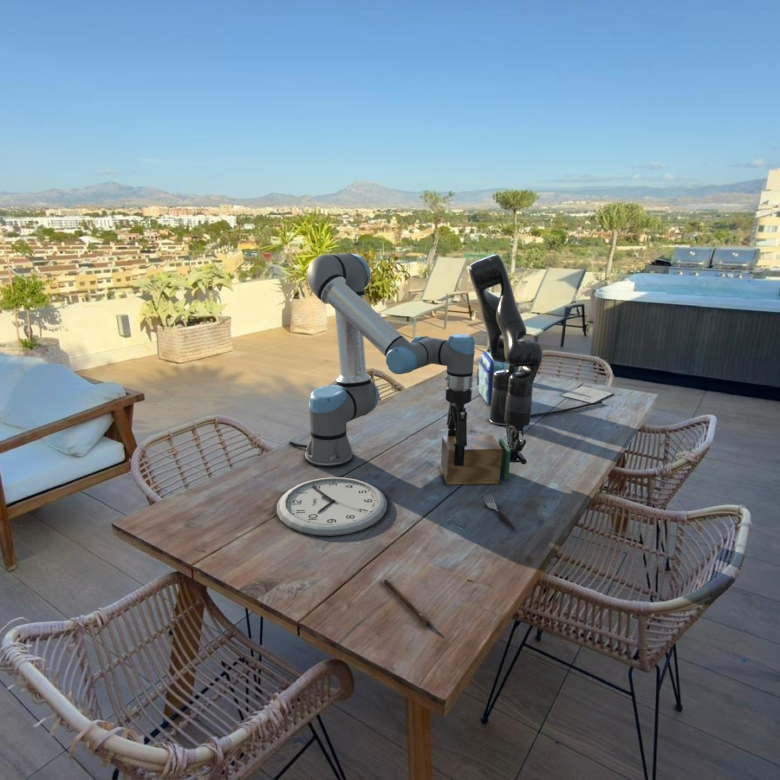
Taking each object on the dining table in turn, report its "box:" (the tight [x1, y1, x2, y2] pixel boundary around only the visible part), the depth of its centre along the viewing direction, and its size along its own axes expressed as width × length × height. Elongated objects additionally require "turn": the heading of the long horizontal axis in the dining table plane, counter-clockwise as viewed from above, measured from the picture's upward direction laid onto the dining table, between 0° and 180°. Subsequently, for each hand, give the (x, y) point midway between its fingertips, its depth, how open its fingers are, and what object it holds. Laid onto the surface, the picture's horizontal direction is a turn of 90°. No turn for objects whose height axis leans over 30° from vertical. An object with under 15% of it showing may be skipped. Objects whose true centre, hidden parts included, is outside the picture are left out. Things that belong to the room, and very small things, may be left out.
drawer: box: [497, 438, 528, 480], centre depth 160 cm, size 20×9×9 cm, turn 94°
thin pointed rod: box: [383, 578, 429, 627], centre depth 106 cm, size 15×1×1 cm, turn 34°
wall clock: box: [276, 476, 388, 537], centre depth 142 cm, size 30×2×30 cm
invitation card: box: [560, 385, 613, 404], centre depth 242 cm, size 21×1×15 cm
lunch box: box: [476, 351, 509, 406], centre depth 230 cm, size 26×11×21 cm, turn 179°
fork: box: [483, 493, 516, 530], centre depth 139 cm, size 3×16×2 cm, turn 15°
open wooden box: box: [440, 434, 502, 485], centre depth 160 cm, size 16×11×11 cm
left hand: (454, 457), depth 159 cm, fingers closed on open wooden box, 11 cm apart
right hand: (512, 460), depth 161 cm, fingers closed
